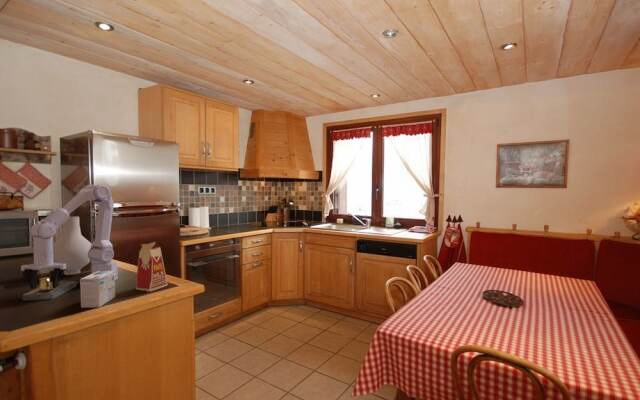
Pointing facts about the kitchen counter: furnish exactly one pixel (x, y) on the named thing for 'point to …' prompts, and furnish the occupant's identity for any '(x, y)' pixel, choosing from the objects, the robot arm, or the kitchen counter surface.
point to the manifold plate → (52, 293)
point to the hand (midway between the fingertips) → (44, 287)
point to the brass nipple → (44, 285)
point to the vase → (71, 247)
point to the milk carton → (150, 268)
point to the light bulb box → (97, 288)
